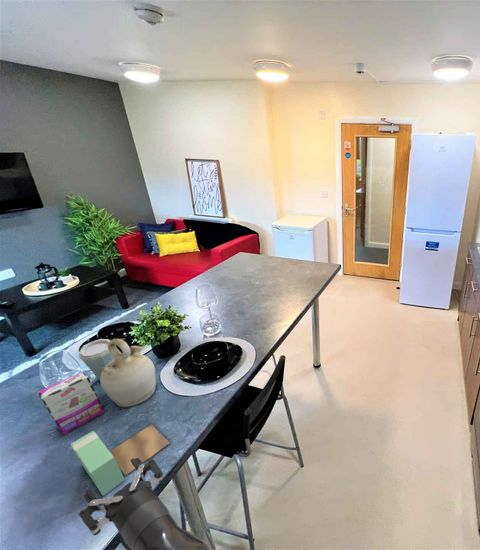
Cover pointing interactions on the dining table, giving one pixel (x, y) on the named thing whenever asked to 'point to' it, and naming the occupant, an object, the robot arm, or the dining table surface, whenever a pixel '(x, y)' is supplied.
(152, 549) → the robot arm
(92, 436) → the green carton
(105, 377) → the jug
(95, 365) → the disposable coffee cup
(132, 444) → the cork mat
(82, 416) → the candy bar box
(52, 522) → the dining table surface
